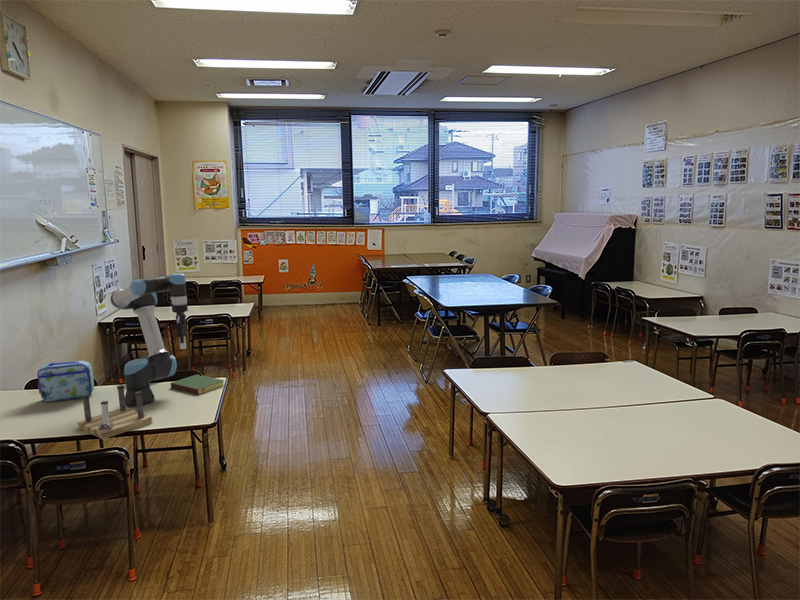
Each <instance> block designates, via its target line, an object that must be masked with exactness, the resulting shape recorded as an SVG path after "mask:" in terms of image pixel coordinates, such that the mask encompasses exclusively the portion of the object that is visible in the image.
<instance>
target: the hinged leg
mask: <svg viewBox="0 0 800 600" xmlns="http://www.w3.org/2000/svg"><path fill="white" fill-rule="evenodd" d="M108 404H109V400H102V401H101V402H100V405H101V415H102V423H103V424H102V429H109V424H108V423H109V418H108V413H109V405H108Z"/></svg>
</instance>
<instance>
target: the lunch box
mask: <svg viewBox="0 0 800 600" xmlns="http://www.w3.org/2000/svg"><path fill="white" fill-rule="evenodd" d="M36 376H37V381H38V384H37V387H38V393H39V394H40V397H41V400H43V402H44V403H45V402H46V403H52V402H57V401H65V400H74V399H79V398H81V399H82V396H84V395H89V397H90V396H91V395H92V393H93V392H94V390H95V381H94V375H93V368H92V364H91V363H90V362H89V361H87V360H73V361H72V360H71V361H62V362H50V363H47V364H45V365H44V366H42V368H40V369H39V370H37V375H36Z"/></svg>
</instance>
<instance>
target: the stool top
mask: <svg viewBox="0 0 800 600" xmlns="http://www.w3.org/2000/svg"><path fill="white" fill-rule="evenodd" d="M116 389H117V394H118V395H117V396H118V402H119V403H118V404H119V409H115V410H112V411H110V412H109V411H108V418H109V423H108V424H109V429H102V424H103V423H102V414H100V415H97V416H93V417H92V412H91V405H90V404H91V403H90V402H91V401H90V396H89V395H84V396H82V398H81V399H82V403H83V411H84V419H83V420H80V421H77V428H78V429H80V430H82V431H84V432H86V433H89V434H90V435H93V436H95V437H97V438H99V439H100V440H106V439H109V438H111V437H114V436H117V435H121V434H124V433H126V432H129V431H132V430H135V429H138V428H141V427H144V426H146V425H149V424H150V425H151V424H152V423H153V417H152V416H151V415H148V414H145V413H144V412H145V411H144V406H143V402H142V392H140V391H139V392H135V395H136V403H137V407H136V410H135V409H132V408H131V407H127V406H126V405H125V385H122V384H121V385H116Z"/></svg>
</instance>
